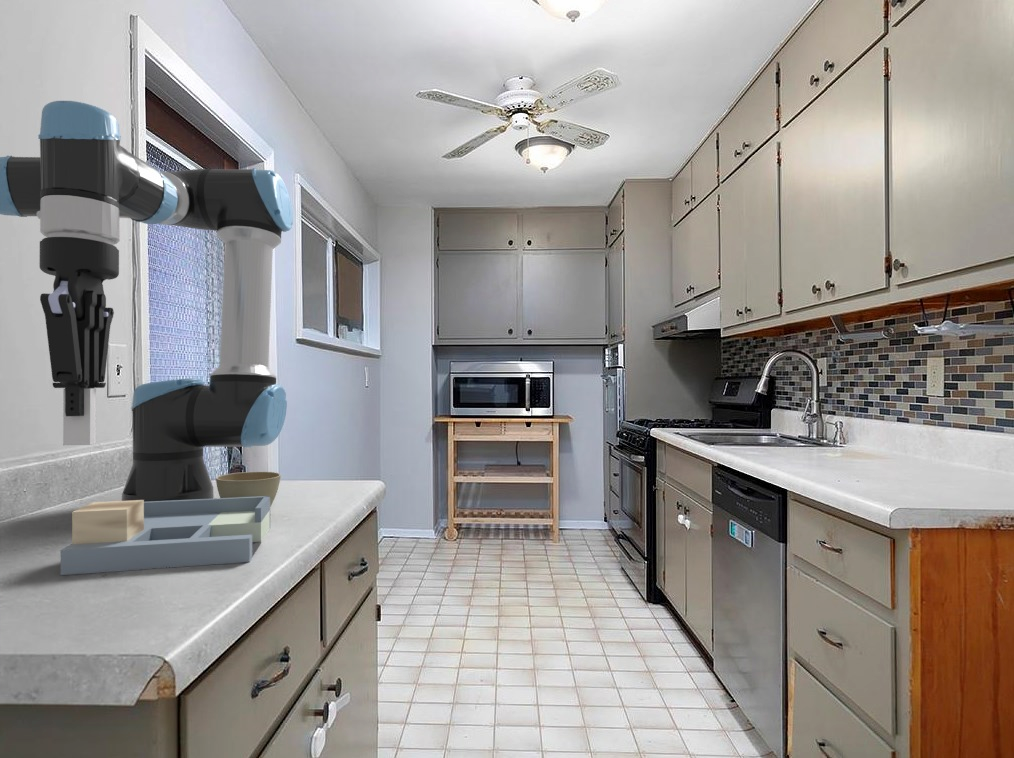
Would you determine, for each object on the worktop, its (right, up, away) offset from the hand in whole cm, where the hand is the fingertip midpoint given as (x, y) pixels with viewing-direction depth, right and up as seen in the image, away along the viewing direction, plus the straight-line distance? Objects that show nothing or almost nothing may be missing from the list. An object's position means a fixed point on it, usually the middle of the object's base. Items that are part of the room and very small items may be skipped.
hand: (79, 444), depth 69 cm
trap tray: (+4, -16, +13) cm, 21 cm away
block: (-2, -13, +8) cm, 15 cm away
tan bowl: (+6, -16, +31) cm, 36 cm away
